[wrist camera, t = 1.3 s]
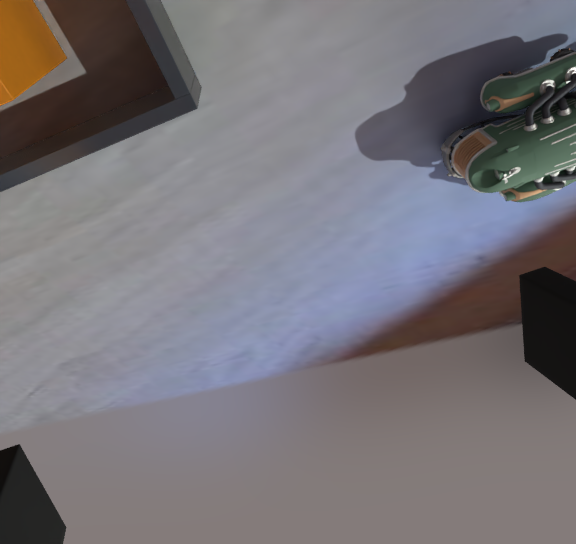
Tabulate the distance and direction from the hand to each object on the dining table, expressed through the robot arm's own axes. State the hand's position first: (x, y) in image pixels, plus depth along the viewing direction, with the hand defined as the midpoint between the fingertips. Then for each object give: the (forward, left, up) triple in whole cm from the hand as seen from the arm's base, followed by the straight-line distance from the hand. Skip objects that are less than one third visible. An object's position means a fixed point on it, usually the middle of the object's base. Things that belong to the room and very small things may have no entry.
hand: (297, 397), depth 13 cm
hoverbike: (+9, +24, -28) cm, 38 cm away
